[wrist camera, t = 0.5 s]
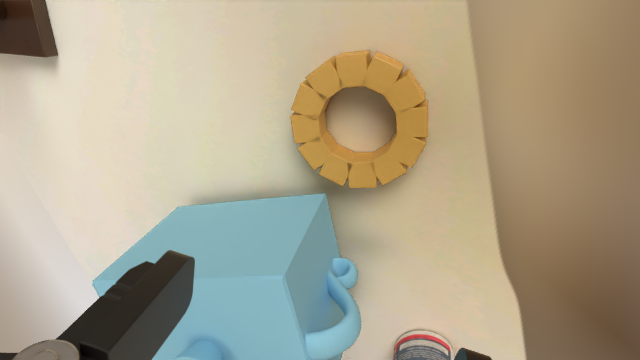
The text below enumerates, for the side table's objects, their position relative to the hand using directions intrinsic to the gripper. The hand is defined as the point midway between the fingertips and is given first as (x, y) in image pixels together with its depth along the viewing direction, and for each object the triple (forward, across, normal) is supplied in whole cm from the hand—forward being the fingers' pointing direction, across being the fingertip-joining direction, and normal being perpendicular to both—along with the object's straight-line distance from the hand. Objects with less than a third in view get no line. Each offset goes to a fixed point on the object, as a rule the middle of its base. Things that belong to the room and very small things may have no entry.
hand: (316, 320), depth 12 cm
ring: (+19, +1, 0) cm, 19 cm away
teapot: (+19, +8, +14) cm, 25 cm away
